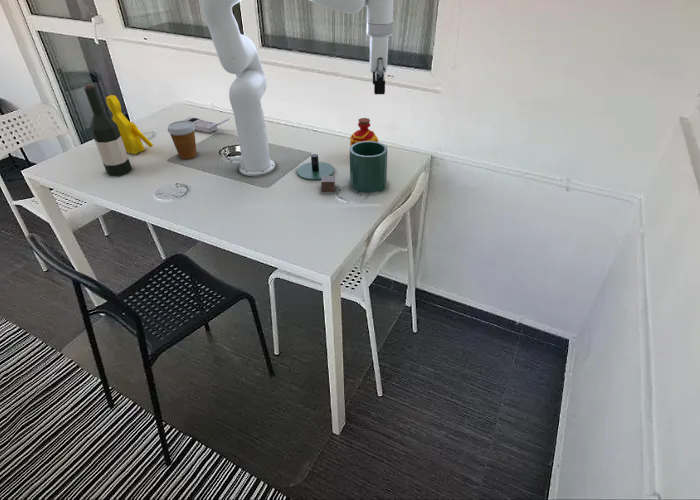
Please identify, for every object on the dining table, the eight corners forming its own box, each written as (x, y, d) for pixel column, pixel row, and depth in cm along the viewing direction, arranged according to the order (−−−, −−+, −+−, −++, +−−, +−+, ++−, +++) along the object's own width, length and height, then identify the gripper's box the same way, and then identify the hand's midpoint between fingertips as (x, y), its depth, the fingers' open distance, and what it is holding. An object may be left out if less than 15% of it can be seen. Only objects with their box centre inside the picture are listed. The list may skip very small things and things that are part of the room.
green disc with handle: (295, 182, 152) (293, 164, 148) (299, 164, 162) (297, 147, 158) (333, 181, 152) (332, 163, 148) (334, 164, 162) (334, 147, 158)
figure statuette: (159, 151, 173) (142, 93, 160) (144, 159, 168) (125, 100, 154) (124, 144, 179) (105, 87, 166) (109, 152, 173) (88, 94, 160)
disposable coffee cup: (169, 159, 168) (160, 128, 161) (186, 148, 175) (178, 118, 168) (190, 163, 165) (182, 131, 158) (206, 152, 172) (199, 121, 165)
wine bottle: (137, 168, 162) (109, 83, 144) (118, 178, 156) (87, 90, 138) (120, 164, 165) (90, 80, 147) (101, 173, 159) (68, 87, 141)
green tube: (350, 194, 145) (349, 157, 137) (350, 177, 155) (349, 141, 147) (386, 194, 145) (388, 156, 137) (384, 176, 154) (386, 140, 147)
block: (321, 193, 146) (321, 181, 143) (322, 187, 149) (321, 175, 147) (334, 193, 146) (334, 181, 143) (335, 186, 149) (334, 175, 147)
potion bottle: (375, 167, 160) (376, 126, 151) (347, 165, 162) (346, 124, 153) (380, 154, 168) (381, 115, 159) (352, 152, 170) (352, 113, 161)
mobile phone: (221, 122, 179) (173, 113, 188) (223, 137, 183) (176, 126, 192) (230, 117, 184) (183, 108, 193) (232, 131, 187) (186, 122, 196)
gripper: (365, 23, 138) (365, 80, 148) (368, 36, 124) (367, 98, 134) (390, 22, 138) (388, 80, 148) (395, 35, 124) (392, 98, 134)
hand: (378, 88), depth 141 cm, fingers open, 9 cm apart
